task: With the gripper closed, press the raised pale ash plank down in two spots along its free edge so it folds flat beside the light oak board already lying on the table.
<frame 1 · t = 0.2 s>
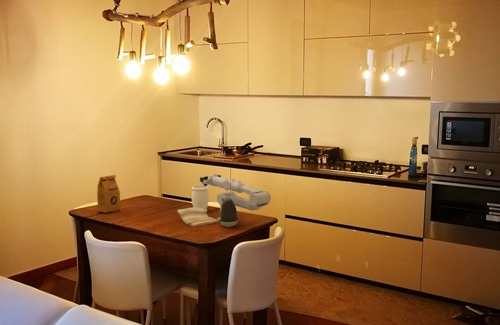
hand: (205, 178, 309), 21 cm above the table, tool horizontal, fingers open, 7 cm apart
coffee package: (109, 211, 315), on the table
smart speaker: (229, 225, 284), on the table, touching arm
jar: (200, 211, 317), on the table
click plank: (193, 214, 296), point 3 cm above the table, hinge at 35.0°
laid board: (202, 222, 290), on the table
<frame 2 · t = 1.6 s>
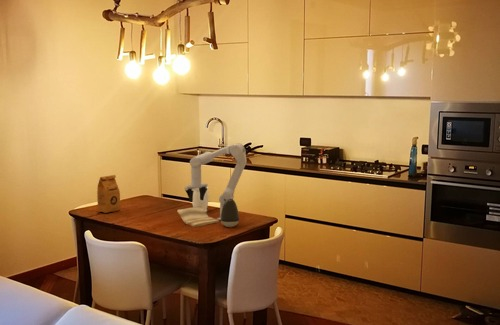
hand: (196, 201, 300), 10 cm above the table, tool pointing down, fingers open, 7 cm apart
smart speaker: (229, 226, 284), on the table
everything else where it was.
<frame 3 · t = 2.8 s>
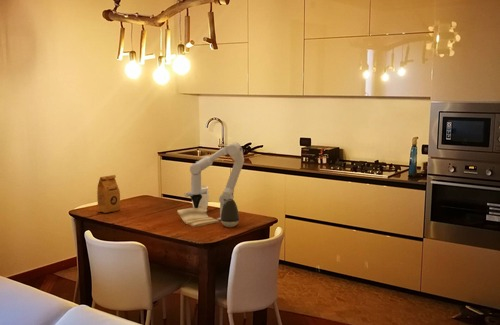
hand: (196, 207, 300), 6 cm above the table, tool pointing down, fingers closed, pressing on click plank
click plank: (193, 214, 296), point 3 cm above the table, hinge at 33.5°, touching gripper
everything else where it was.
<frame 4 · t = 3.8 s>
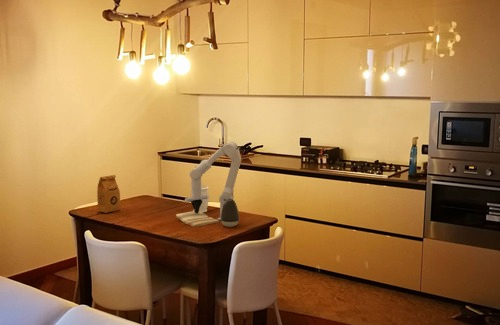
hand: (196, 212, 301), 3 cm above the table, tool pointing down, fingers closed
click plank: (192, 216, 297), point 2 cm above the table, hinge at 14.1°
everything else where it was.
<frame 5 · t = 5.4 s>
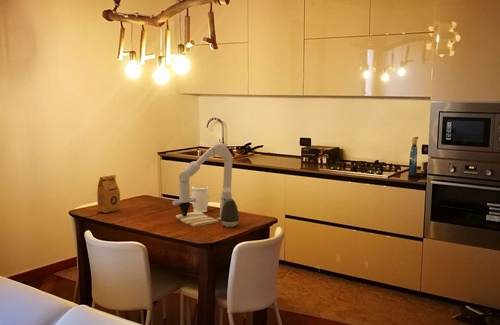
hand: (184, 215, 296), 2 cm above the table, tool pointing down, fingers closed, pressing on click plank
click plank: (192, 216, 297), point 1 cm above the table, hinge at 10.5°, touching gripper
everything else where it was.
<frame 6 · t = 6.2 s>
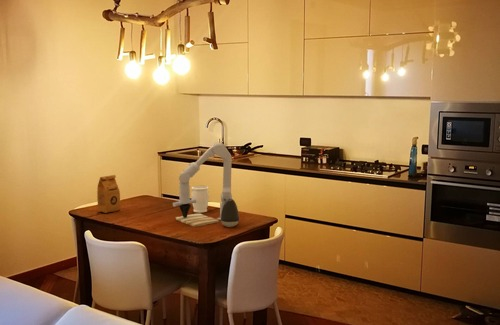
hand: (184, 217, 296), 2 cm above the table, tool pointing down, fingers closed
click plank: (191, 217, 298), point 1 cm above the table, hinge at 2.0°
everything else where it was.
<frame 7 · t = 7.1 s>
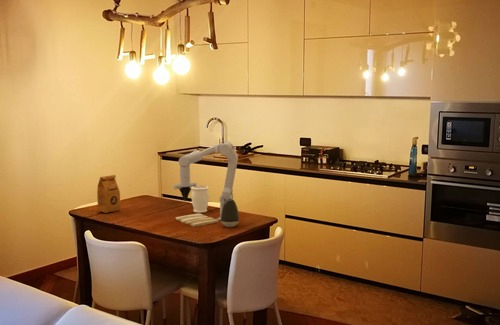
hand: (185, 200, 299), 10 cm above the table, tool pointing down, fingers closed
nothing on the table moved.
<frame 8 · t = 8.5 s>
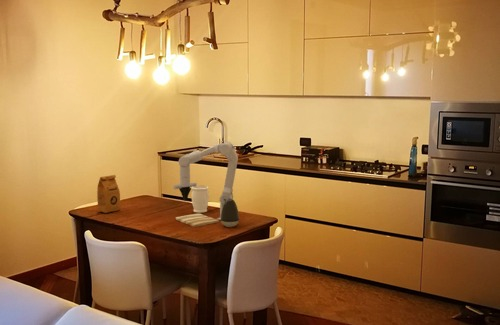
hand: (185, 200, 299), 10 cm above the table, tool pointing down, fingers closed
nothing on the table moved.
at the end: click plank at +2° (first picture: +35°); the gripper is holding nothing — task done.
